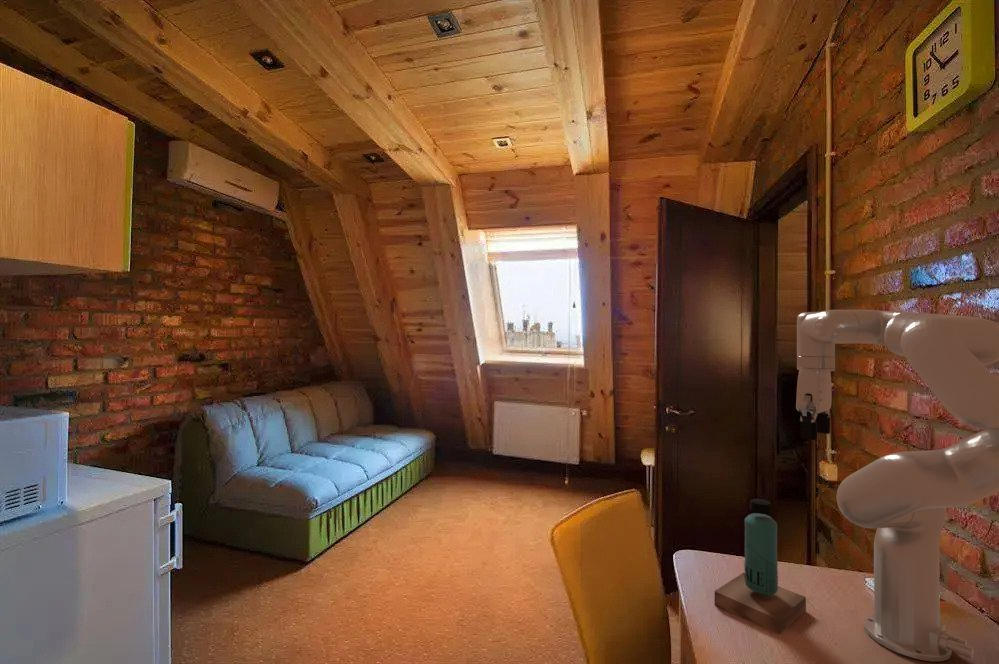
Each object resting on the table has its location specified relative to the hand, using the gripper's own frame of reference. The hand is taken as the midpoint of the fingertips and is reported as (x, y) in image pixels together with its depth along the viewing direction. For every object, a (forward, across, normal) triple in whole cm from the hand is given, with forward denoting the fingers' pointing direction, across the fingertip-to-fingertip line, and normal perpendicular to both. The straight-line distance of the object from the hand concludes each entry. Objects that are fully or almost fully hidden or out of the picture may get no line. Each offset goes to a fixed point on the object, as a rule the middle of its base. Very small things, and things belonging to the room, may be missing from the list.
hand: (815, 435), depth 112 cm
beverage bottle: (+32, +22, -4) cm, 39 cm away
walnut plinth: (+34, +22, -4) cm, 41 cm away
